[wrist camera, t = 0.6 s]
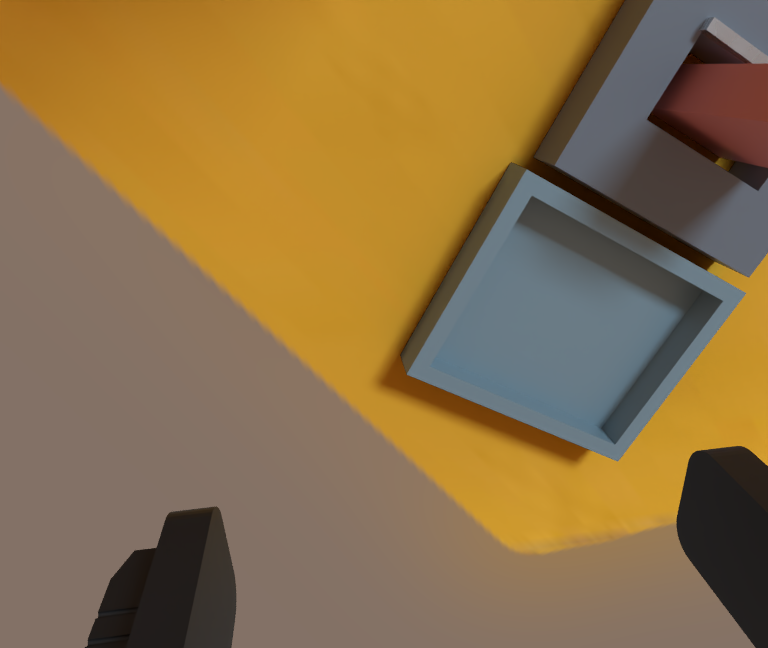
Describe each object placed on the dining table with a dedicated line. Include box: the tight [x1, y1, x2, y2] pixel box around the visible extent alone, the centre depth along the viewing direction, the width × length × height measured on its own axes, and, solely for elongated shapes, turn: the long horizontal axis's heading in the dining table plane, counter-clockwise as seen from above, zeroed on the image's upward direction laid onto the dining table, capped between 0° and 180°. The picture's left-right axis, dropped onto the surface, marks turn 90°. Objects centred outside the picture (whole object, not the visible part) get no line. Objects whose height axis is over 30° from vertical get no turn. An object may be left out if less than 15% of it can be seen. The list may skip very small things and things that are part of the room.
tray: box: [400, 162, 746, 461], centre depth 35 cm, size 13×16×2 cm
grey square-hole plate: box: [534, 0, 768, 277], centre depth 31 cm, size 12×14×4 cm
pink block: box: [651, 63, 768, 168], centre depth 28 cm, size 2×6×10 cm, turn 62°
